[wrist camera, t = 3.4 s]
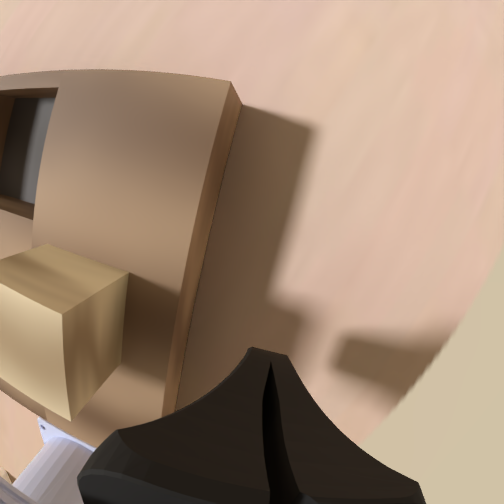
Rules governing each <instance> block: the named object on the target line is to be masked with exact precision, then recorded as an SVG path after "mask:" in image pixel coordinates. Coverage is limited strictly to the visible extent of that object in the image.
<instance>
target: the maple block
mask: <svg viewBox="0 0 504 504" xmlns="http://www.w3.org/2000/svg"><path fill="white" fill-rule="evenodd" d="M128 277H129V272H127V271H124V270H121V269H118V268H115V267H112V266H109V265H106V264H103V263H100V262H97V261H94V260H91V259H89V258H86V257H83V256H80V255H77V254H74V253H72V252H69V251H66V250H63V249H60V248H58V247H55V246H52V245H50V244H46V245H42V246H39V247H36V248H33V249H30V250H27V251H24V252H21V253H18V254H15V255H12V256H9V257H6V258H3V259H0V377H1V378H2V379H3V380H5V381H6V382H7V383H9V384H10V385H12V386H13V387H15V388H16V389H18V390H19V391H21V392H22V393H24V394H25V395H27V396H28V397H30V398H31V399H33V400H34V401H36V402H38V403H39V404H41V405H43V406H44V407H46V408H48V409H49V410H51V411H53V412H55V413H56V414H58V415H60V416H62V417H63V418H65V419H67V420H69V421H72V420H73V419H74V418H75V417H76V415H77V414H78V413H79V412H80V411H81V409H82V408H83V407H84V406H85V405H86V403H87V402H88V401H89V400H90V399H91V397H92V396H93V395H94V394H95V393H96V392H97V390H98V389H99V388H100V387H101V386H102V384H103V383H104V382H105V381H106V380H107V379H108V377H109V376H110V375H111V374H112V373H113V372H114V370H115V369H116V368H117V367H118V366H119V365H120V363H121V355H122V339H123V325H124V314H125V304H126V294H127V285H128Z"/></svg>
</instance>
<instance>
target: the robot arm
mask: <svg viewBox="0 0 504 504" xmlns="http://www.w3.org/2000/svg"><path fill="white" fill-rule="evenodd" d="M38 424H39V427H40V431H41V435H42V438H43V441H44V446H43V447H42V449H41V450H40V451H39V452H38V453H37V455H36V456H35V457H34V458H33V459H32V461H31V462H30V463H29V464H28V465H27V467H26V468H25V469H24V470H23V472H22V473H21V474H20V475H19V477H18V478H17V479H16V480H15V481H14V483H13V484H12V485H11V484H10V483H9V482H7V481H6V480H5V479H3V478H2V477H1V476H0V504H426V502H425V499H424V496H423V494H422V491H421V488H420V486H419V483H418V482H416V481H414V480H412V479H410V478H408V477H406V476H404V475H402V474H400V473H398V472H396V471H394V470H392V469H391V468H389V467H387V466H385V465H384V464H382V463H381V462H379V461H378V460H376V459H375V458H373V457H372V456H370V455H369V454H367V453H366V452H365V451H363V450H362V449H361V448H360V447H358V446H357V445H356V444H355V443H354V442H352V441H351V440H350V439H349V438H348V437H347V436H345V435H344V434H343V433H342V432H341V431H340V430H339V429H338V428H337V427H336V426H335V425H334V424H333V422H332V421H331V420H330V419H329V418H328V417H327V416H326V415H325V414H324V412H323V411H322V410H321V409H320V407H319V406H318V405H317V403H316V402H315V401H314V399H313V398H312V397H311V395H310V394H309V392H308V391H307V389H306V387H305V386H304V384H303V383H302V381H301V379H300V378H299V376H298V374H297V372H296V370H295V369H294V367H293V365H292V363H291V361H290V360H289V358H288V356H287V355H283V354H278V353H274V352H270V351H266V350H262V349H258V348H254V347H251V348H249V349H248V350H247V353H246V355H245V357H244V358H243V359H242V361H241V362H240V363H239V365H238V366H237V367H236V368H235V369H234V370H233V371H232V373H231V374H230V375H229V376H228V377H226V378H225V379H224V380H223V381H222V382H221V383H220V384H219V385H218V386H216V387H215V388H214V389H213V390H211V391H210V392H209V393H207V394H206V395H204V396H203V397H201V398H200V399H198V400H197V401H195V402H193V403H191V404H190V405H188V406H186V407H184V408H182V409H180V410H178V411H176V412H174V413H171V414H169V415H166V416H164V417H161V418H159V419H156V420H154V421H151V422H147V423H144V424H140V425H136V426H132V427H127V428H122V429H117V430H115V431H114V432H113V433H111V434H110V435H109V436H108V437H107V438H106V439H105V440H104V441H103V442H102V443H101V444H100V445H99V446H98V447H97V448H96V447H94V446H92V445H90V444H88V443H86V442H84V441H82V440H80V439H78V438H76V437H75V436H73V435H71V434H69V433H67V432H65V431H64V430H62V429H60V428H58V427H56V426H55V425H53V424H51V423H50V422H48V421H46V420H45V419H43V418H41V417H39V418H38Z"/></svg>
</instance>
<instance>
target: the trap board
mask: <svg viewBox="0 0 504 504" xmlns="http://www.w3.org/2000/svg"><path fill="white" fill-rule="evenodd" d="M241 107H242V103H241V101H240V99H239V97H238V95H237V93H236V91H235V89H234V87H233V85H232V83H231V81H225V80H219V79H213V78H206V77H199V76H191V75H182V74H173V73H162V72H150V71H134V70H59V71H44V72H32V73H22V74H14V75H6V76H0V259H3V258H6V257H9V256H12V255H15V254H18V253H21V252H24V251H27V250H30V249H33V248H36V247H39V246H42V245H46V244H50V245H52V246H55V247H58V248H60V249H63V250H66V251H69V252H72V253H74V254H77V255H80V256H83V257H86V258H89V259H91V260H94V261H97V262H100V263H103V264H106V265H109V266H112V267H115V268H118V269H121V270H124V271H127V272H129V277H128V285H127V294H126V304H125V314H124V325H123V339H122V355H121V363H120V365H119V366H118V367H117V368H116V369H115V370H114V372H113V373H112V374H111V375H110V376H109V377H108V379H107V380H106V381H105V382H104V383H103V384H102V386H101V387H100V388H99V389H98V390H97V392H96V393H95V394H94V395H93V396H92V397H91V399H90V400H89V401H88V402H87V403H86V405H85V406H84V407H83V408H82V409H81V411H80V412H79V413H78V414H77V415H76V417H75V418H74V419H73V420H72V421H69V420H67V419H65V418H63V417H62V416H60V415H58V414H56V413H55V412H53V411H51V410H49V409H48V408H46V407H44V406H43V405H41V404H39V403H38V402H36V401H34V400H33V399H31V398H30V397H28V396H27V395H25V394H24V393H22V392H21V391H19V390H18V389H16V388H15V387H13V386H12V385H10V384H9V383H7V382H6V381H5V380H3V379H2V378H1V377H0V390H1V391H3V392H4V393H5V394H7V395H8V396H10V397H11V398H12V399H14V400H15V401H17V402H18V403H20V404H21V405H23V406H24V407H26V408H27V409H29V410H30V411H32V412H33V413H35V414H37V415H38V416H40V417H41V418H43V419H45V420H46V421H48V422H50V423H51V424H53V425H55V426H56V427H58V428H60V429H62V430H64V431H65V432H67V433H69V434H71V435H73V436H75V437H76V438H78V439H80V440H82V441H84V442H86V443H88V444H90V445H92V446H94V447H96V448H97V447H98V446H99V445H100V444H101V443H102V442H103V441H104V440H105V439H106V438H107V437H108V436H109V435H110V434H111V433H113V432H114V431H115V430H117V429H122V428H127V427H132V426H136V425H140V424H144V423H147V422H151V421H154V420H156V419H159V418H161V417H164V416H166V415H169V414H171V413H174V412H175V407H176V401H177V395H178V389H179V383H180V377H181V371H182V366H183V360H184V355H185V349H186V344H187V339H188V333H189V328H190V323H191V318H192V313H193V308H194V303H195V298H196V293H197V288H198V284H199V279H200V274H201V270H202V265H203V260H204V256H205V251H206V247H207V242H208V238H209V233H210V229H211V225H212V220H213V216H214V212H215V208H216V203H217V199H218V195H219V191H220V187H221V183H222V179H223V175H224V171H225V167H226V163H227V159H228V155H229V151H230V147H231V144H232V140H233V136H234V132H235V129H236V125H237V121H238V117H239V114H240V110H241Z"/></svg>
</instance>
